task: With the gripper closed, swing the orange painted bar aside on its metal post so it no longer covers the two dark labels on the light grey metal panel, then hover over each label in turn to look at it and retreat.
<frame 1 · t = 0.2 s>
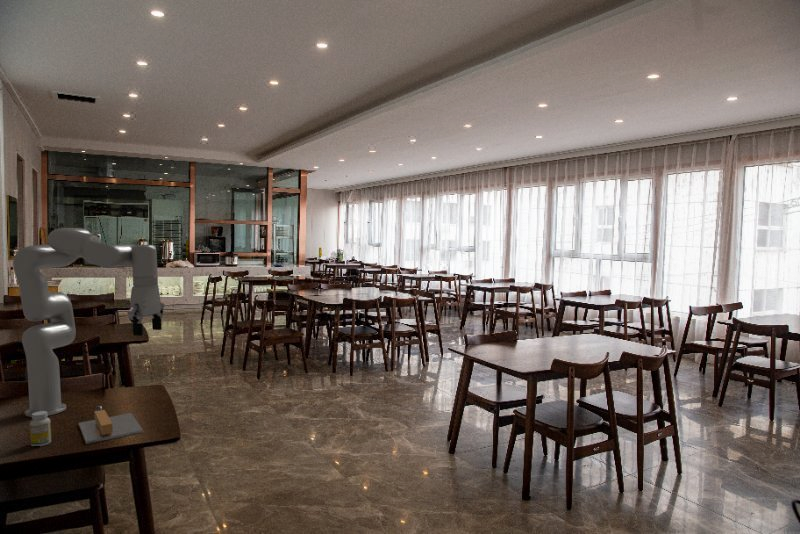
hand: (147, 332, 182), 31 cm above the table, tool pointing down, fingers open, 9 cm apart
supplement bottle: (41, 444, 167), on the table
swing bar: (103, 421, 176), point 3 cm above the table, hinge at 0.0°
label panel: (110, 428, 178), on the table
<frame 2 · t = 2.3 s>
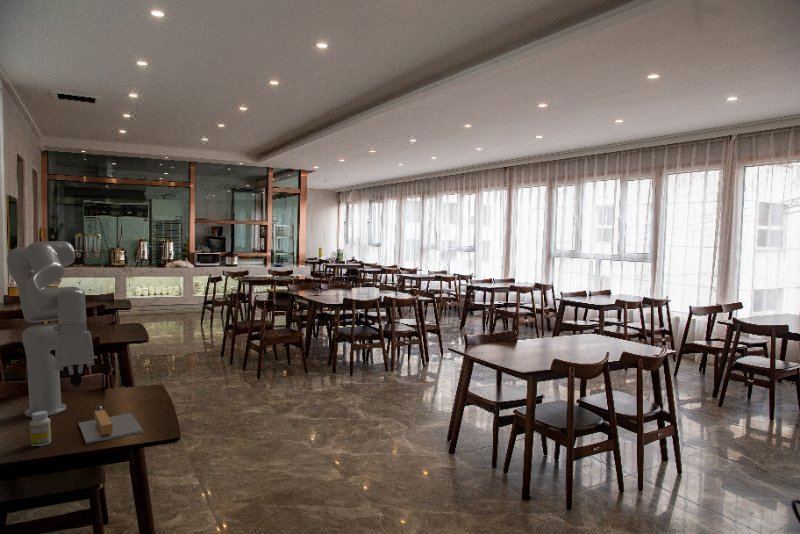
hand: (76, 385, 172), 16 cm above the table, tool pointing down, fingers closed
nothing on the table moved.
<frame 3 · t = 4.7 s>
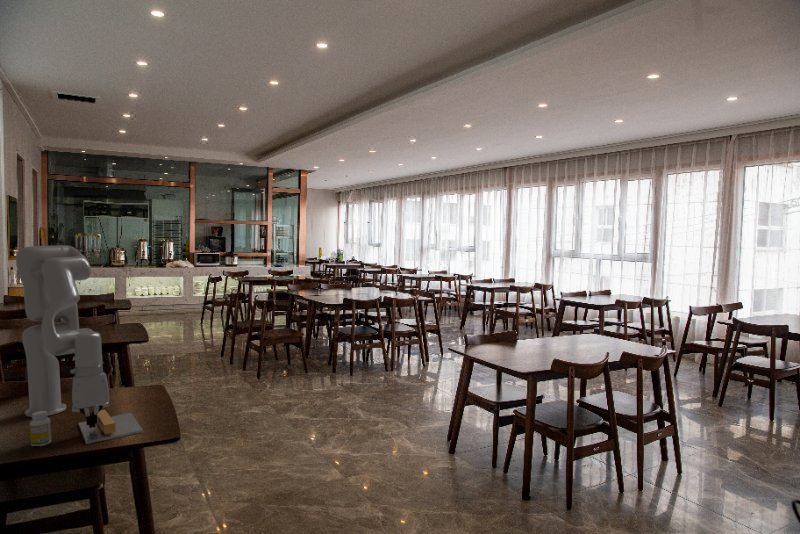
hand: (92, 426, 175), 2 cm above the table, tool pointing down, fingers closed
swing bar: (104, 421, 177), point 3 cm above the table, hinge at 2.8°, touching gripper
everything else where it was.
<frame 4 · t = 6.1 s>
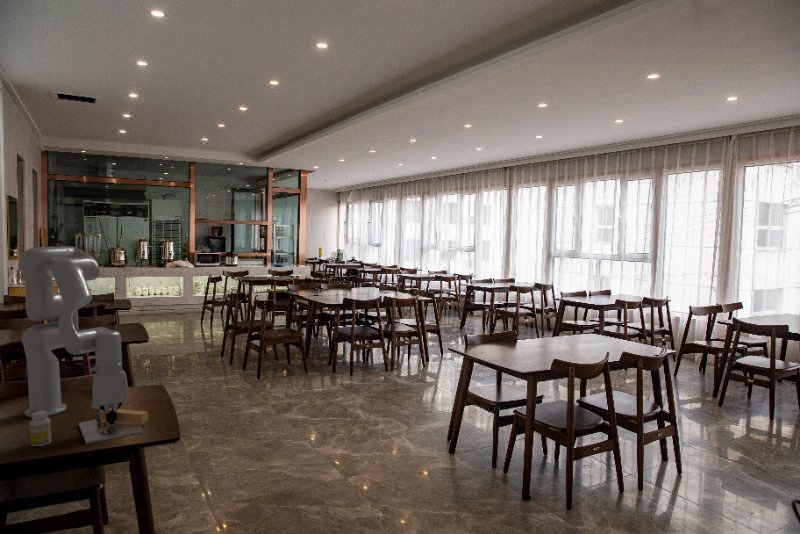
hand: (111, 423, 179), 2 cm above the table, tool pointing down, fingers closed
swing bar: (123, 415, 182), point 3 cm above the table, hinge at 40.4°, touching gripper
everything else where it was.
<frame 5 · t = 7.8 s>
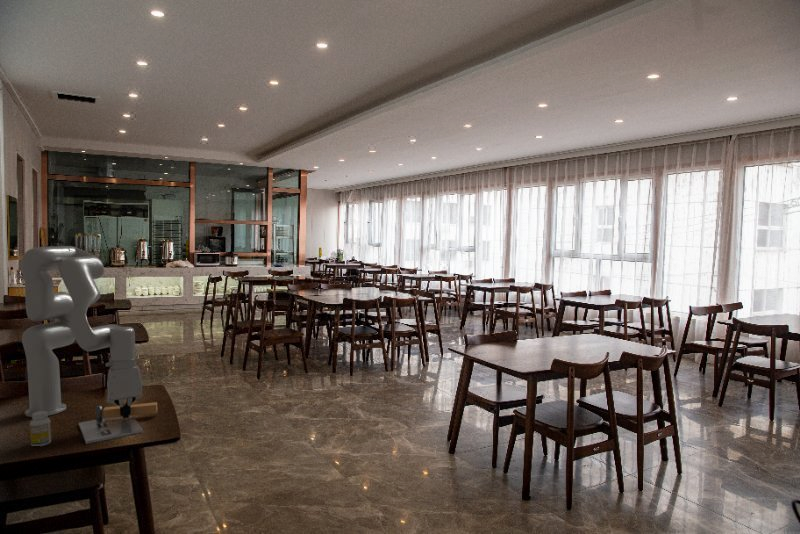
hand: (125, 417, 184), 2 cm above the table, tool pointing down, fingers closed
swing bar: (130, 410, 187), point 3 cm above the table, hinge at 72.1°
everything else where it was.
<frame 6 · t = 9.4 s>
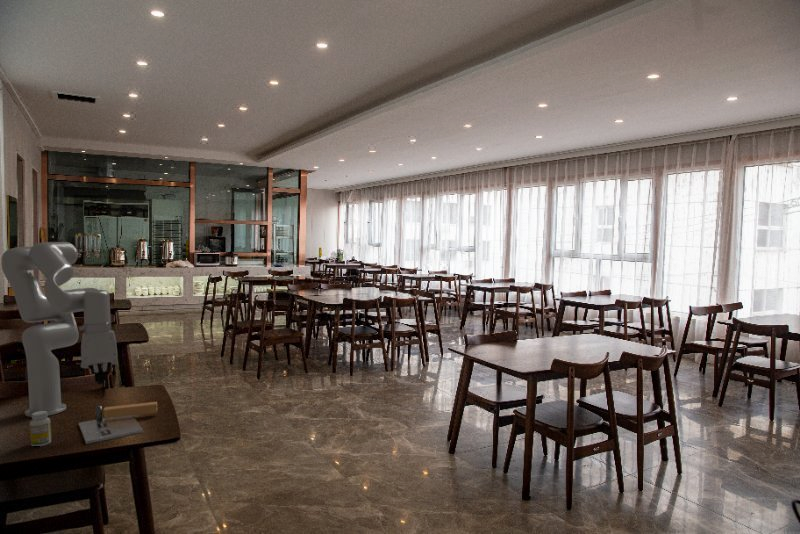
hand: (100, 383, 178), 15 cm above the table, tool pointing down, fingers closed
swing bar: (131, 409, 188), point 3 cm above the table, hinge at 74.4°
everything else where it was.
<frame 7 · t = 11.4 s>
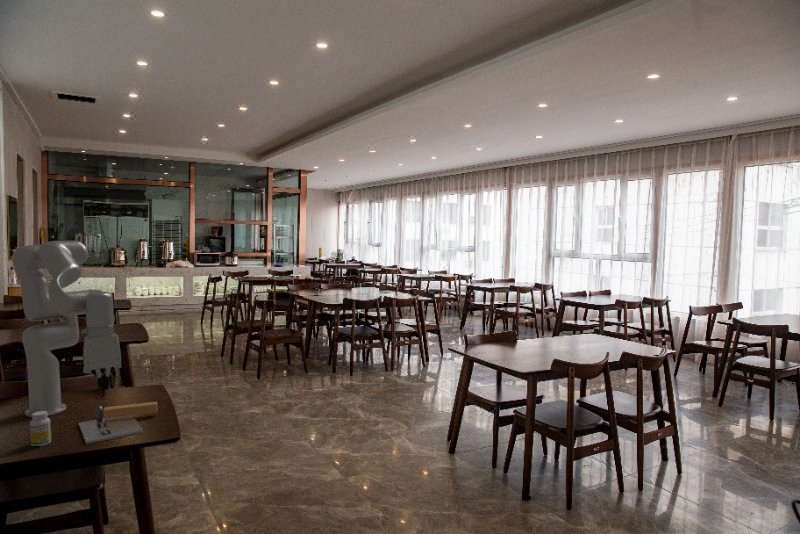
hand: (103, 388, 172), 15 cm above the table, tool pointing down, fingers closed
nothing on the table moved.
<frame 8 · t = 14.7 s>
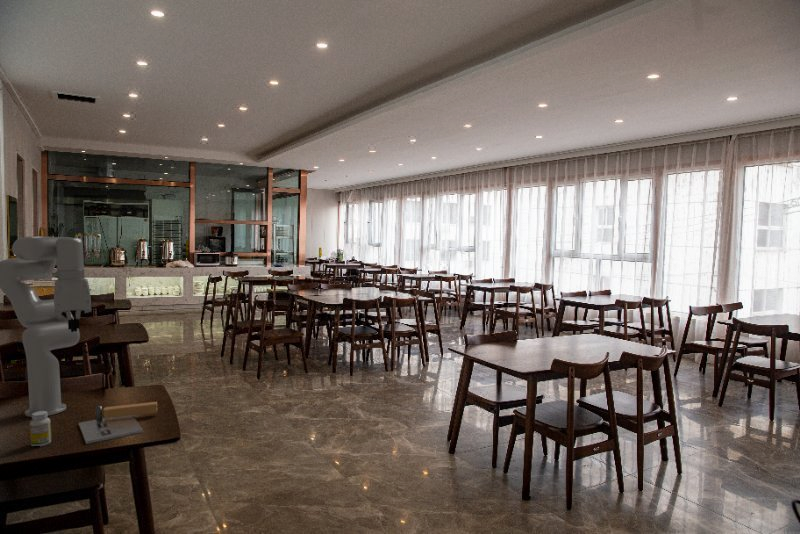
hand: (74, 331, 179), 32 cm above the table, tool pointing down, fingers closed
nothing on the table moved.
at the end: swing bar at +74° (first picture: +0°); supplement bottle moved 0.2 cm from its start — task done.
